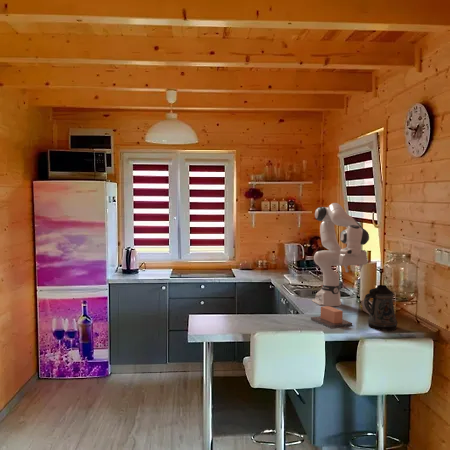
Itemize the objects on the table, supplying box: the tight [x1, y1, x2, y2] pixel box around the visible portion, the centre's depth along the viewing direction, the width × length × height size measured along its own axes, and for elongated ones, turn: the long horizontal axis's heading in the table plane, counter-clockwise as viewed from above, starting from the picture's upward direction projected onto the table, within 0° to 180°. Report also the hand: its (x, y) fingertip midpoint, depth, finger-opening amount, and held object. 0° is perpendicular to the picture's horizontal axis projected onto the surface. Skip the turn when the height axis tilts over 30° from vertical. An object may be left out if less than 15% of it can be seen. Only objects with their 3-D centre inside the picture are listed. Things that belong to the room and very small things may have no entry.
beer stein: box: [363, 284, 398, 332], centre depth 275 cm, size 16×19×25 cm
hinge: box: [360, 300, 372, 316], centre depth 311 cm, size 17×5×10 cm, turn 4°
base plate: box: [310, 315, 353, 328], centre depth 286 cm, size 20×16×5 cm
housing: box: [319, 305, 344, 323], centre depth 286 cm, size 14×6×7 cm, turn 23°
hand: (353, 271), depth 300 cm, fingers open, 8 cm apart
